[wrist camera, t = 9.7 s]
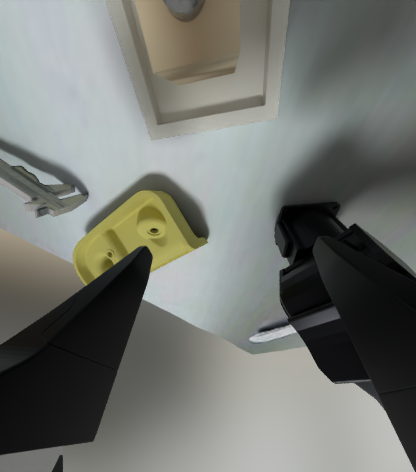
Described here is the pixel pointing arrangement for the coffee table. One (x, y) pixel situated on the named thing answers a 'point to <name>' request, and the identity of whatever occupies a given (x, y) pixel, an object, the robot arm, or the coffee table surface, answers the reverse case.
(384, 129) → the coffee table surface
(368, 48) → the coffee table surface
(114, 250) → the plastic component
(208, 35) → the block
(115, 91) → the coffee table surface
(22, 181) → the caliper
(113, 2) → the housing tray
